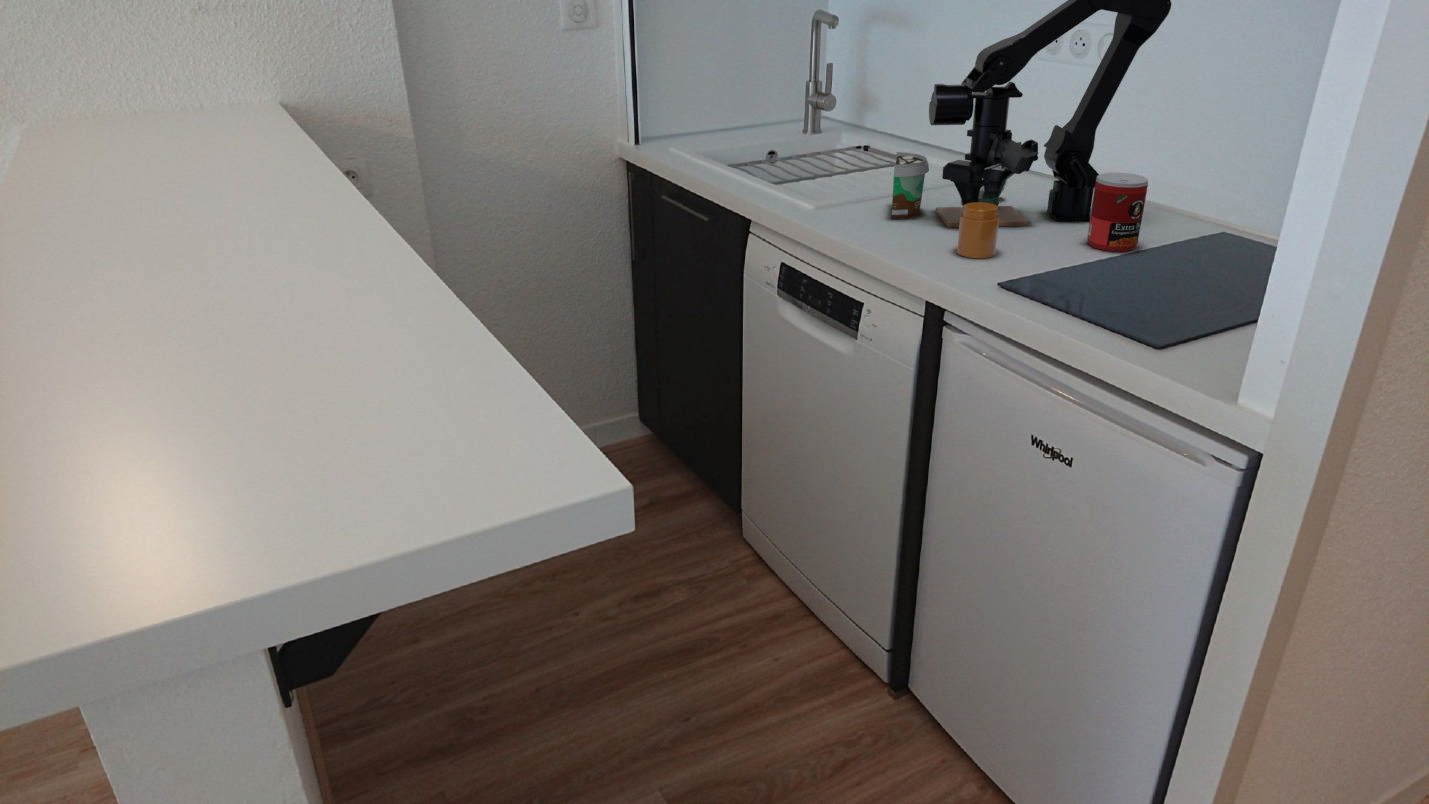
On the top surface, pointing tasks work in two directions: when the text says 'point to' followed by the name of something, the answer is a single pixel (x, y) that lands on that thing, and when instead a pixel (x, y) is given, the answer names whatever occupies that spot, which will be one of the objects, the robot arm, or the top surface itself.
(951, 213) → the cork mat
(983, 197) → the lid
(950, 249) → the top surface
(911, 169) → the food container
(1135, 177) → the canned food
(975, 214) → the jar
